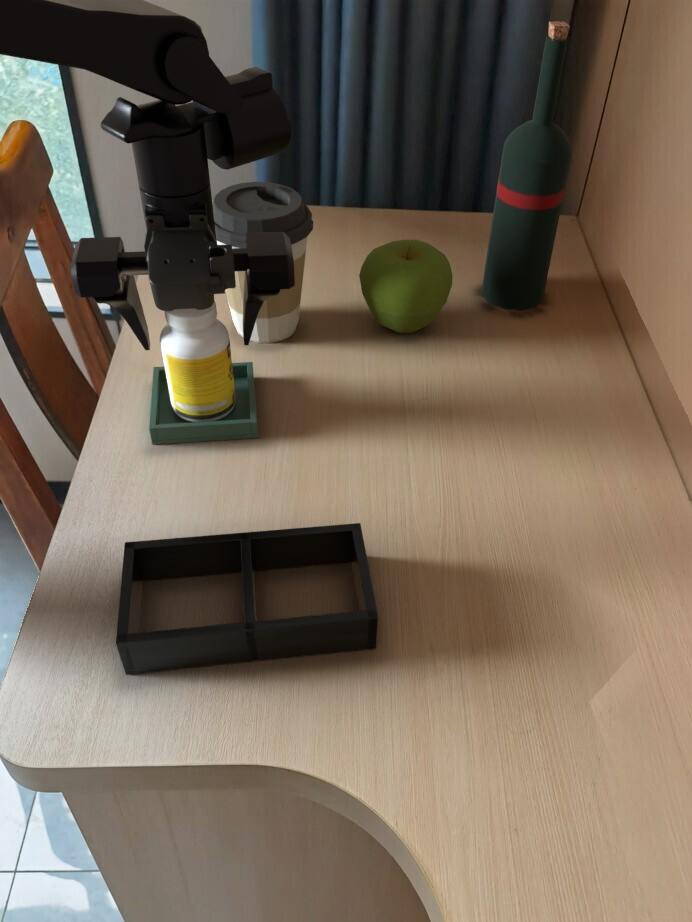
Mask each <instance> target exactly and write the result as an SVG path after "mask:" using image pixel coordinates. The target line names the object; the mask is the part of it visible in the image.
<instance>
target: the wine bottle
mask: <svg viewBox="0 0 692 922" xmlns="http://www.w3.org/2000/svg"><path fill="white" fill-rule="evenodd" d="M570 28H571V25H569V23H567V22H566V21H548V35H546V36H545V41H544V42H545V43H544V49H543V53H542V59H541V66H540V73H539V77H538V84H537V88H536V89H537V90H536V95H535V101H534V108H533V113H532V119H530V120H527V121H525V122H524V123H522V124H520V125H518V126H517V127H515V128H514V129H513V130H512V131H511V132H510V133H509V134H508V136H507V137H506V139H505V140H504V142H503V148H502V154H501V161H500V168H499V172H498V179H497V186H496V193H495V200H494V205H493V212H492V219H491V226H490V232H489V239H488V245H487V251H486V258H485V264H484V270H483V278H482V284H481V296H482V298H483V299H484V300H486V302H488V303H489V304H490V305H492V306H494V307H497V308H501V309H502V310H508V311H509V310H510V311H526V310H530V309H534V308H537V306H539V305H540V304H541V303H542V302H543V301H544V296H545V291H546V287H547V286H546V285H547V281H548V277H549V271H550V265H551V261H552V255H553V251H554V245H555V240H556V236H557V230H558V226H559V220H560V215H561V210H562V207H563V201H564V195H565V191H566V190H565V189H566V185H567V180H568V175H569V170H570V165H571V160H572V150H571V145H570V141H569V140H570V139H569V138H568V136H567V134H566V131H564V130H563V129H562V128H561V127H560V126H559V125H557V124H556V123H555V122H554V117H555V112H556V107H557V102H558V95H559V91H560V84H561V81H562V80H561V79H562V74H563V68H564V62H565V58H566V52H567V46H568V42H569V39H568V34H569V31H570Z"/></svg>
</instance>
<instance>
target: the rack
mask: <svg viewBox="0 0 692 922" xmlns="http://www.w3.org/2000/svg"><path fill="white" fill-rule="evenodd" d="M362 529H363V528H362V524H361V522H355V523H344V524H333V525H331V524H330V525H319V526H307V527H305V526H304V527H294V528H293V527H292V528H282V529H271V530H269V529H268V530H258V531H247V532H237V533H236V532H233V533H222V534H221V533H220V534H210V535H209V534H208V535H197V536H196V535H195V536H188V537H187V536H185V537H173V538H161V539H160V538H159V539H149V540H135V541H134V540H133V541H125V542H124V546H123V547H124V548H123V557H122V569H121V578H120V580H121V582H120V589H119V601H118V611H117V624H116V634H115V646H116V649H117V653H118V655H119V659H120V662H121V664H122V665H121V666H122V668H123V671H124V673H125V675H126V676H128V675H138V674H146V673H147V674H148V673H156V672H166V671H177V670H184V669H194V668H202V667H203V668H205V667H214V666H223V665H230V664H241V663H243V664H244V663H251V662H260V661H270V660H281V659H288V658H289V659H290V658H297V657H298V658H299V657H309V656H310V657H311V656H319V655H328V654H337V653H348V652H357V651H366V650H367V651H368V650H376V649H377V643H378V631H379V630H378V629H379V613H378V608H377V602H376V598H375V592H374V588H373V582H372V577H371V571H370V566H369V560H368V555H367V551H366V545H365V539H364V533H363V530H362ZM349 563H350V564H351V570H352V575H353V581H354V586H355V592H356V597H357V598H356V599H357V604H358V610H356V611H355V610H354V611H345V612H334V613H326V614H325V613H324V614H314V615H303V616H295V617H293V616H292V617H285V618H274V619H273V618H272V619H265V620H257V619H258V617H257V602H256V601H257V599H256V585H255V572H259V571H272V570H281V569H282V570H283V569H293V568H294V569H295V568H304V567H305V568H306V567H317V566H327V565H328V566H329V565H339V564H349ZM237 573H238V574H239V573H241V584H242V586H241V587H242V603H243V605H242V606H243V607H242V608H243V622H233V623H223V624H211V625H203V626H193V627H192V626H191V627H182V628H180V627H179V628H171V629H161V630H152V631H142V632H141V631H140V630H141V617H142V616H141V615H142V603H143V601H142V599H143V588H144V587H143V586H144V585H143V584H144V582H147V581H156V580H157V581H159V580H160V581H161V580H170V579H180V578H192V577H193V578H194V577H203V576H205V577H206V576H215V575H226V574H237Z"/></svg>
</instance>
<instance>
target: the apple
mask: <svg viewBox="0 0 692 922" xmlns="http://www.w3.org/2000/svg"><path fill="white" fill-rule="evenodd" d="M358 277H359V283H360V288H361V294H362V297H363V299H364V301H365V302H366V304H367V306H368V308H369V309H368V310H370V313H371V314H372V317H373V319H374V321H376V322H377V323H378V324H380V326H382V327H384V328H387V329H388V330H391V331H394V332H395V333H398V334H412V333H414V332H417V331H419V330H421V329H423V328H425V327H428V326H430V324H431V323H433V322H434V321H435V320H436V318H437V316H438V315H439V314H440V312H441V311H442V309H443V308H444V306H445V305H446V304H447V303H448V299H449V296H450V293H451V290H452V287H453V271H452V267H451V262H450V261H449V260H448V258H447V256H446V254H445V253H443V252H442V251H440V250H439V249H437V248H436V247H435V246H433V245H431V244H430V243H429V242H426V241H422V240H420V239H400V240H394V241H389V242H388V243H385V244H382V245H380V246H378V247H375V248H373V249H372V250H371V251H370V252H369V253H368V254H367V255H366V257H365V259H364V261H363V263H362V265H361V266H360V271H359V275H358Z"/></svg>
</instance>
